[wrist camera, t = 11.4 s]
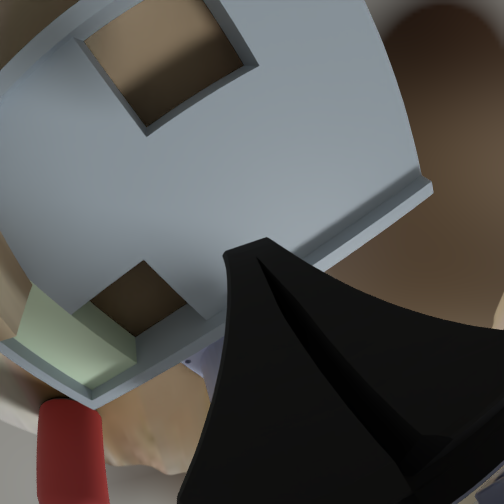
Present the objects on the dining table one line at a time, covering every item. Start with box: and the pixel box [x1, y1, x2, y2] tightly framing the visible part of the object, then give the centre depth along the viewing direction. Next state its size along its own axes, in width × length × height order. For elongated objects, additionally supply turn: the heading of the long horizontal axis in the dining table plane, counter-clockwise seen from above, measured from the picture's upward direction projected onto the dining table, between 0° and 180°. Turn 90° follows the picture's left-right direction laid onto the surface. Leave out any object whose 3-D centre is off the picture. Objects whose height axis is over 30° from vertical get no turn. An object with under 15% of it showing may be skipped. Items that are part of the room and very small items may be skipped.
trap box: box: [0, 0, 433, 410], centre depth 15 cm, size 19×29×4 cm, turn 119°
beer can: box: [37, 398, 110, 504], centre depth 20 cm, size 7×7×12 cm
